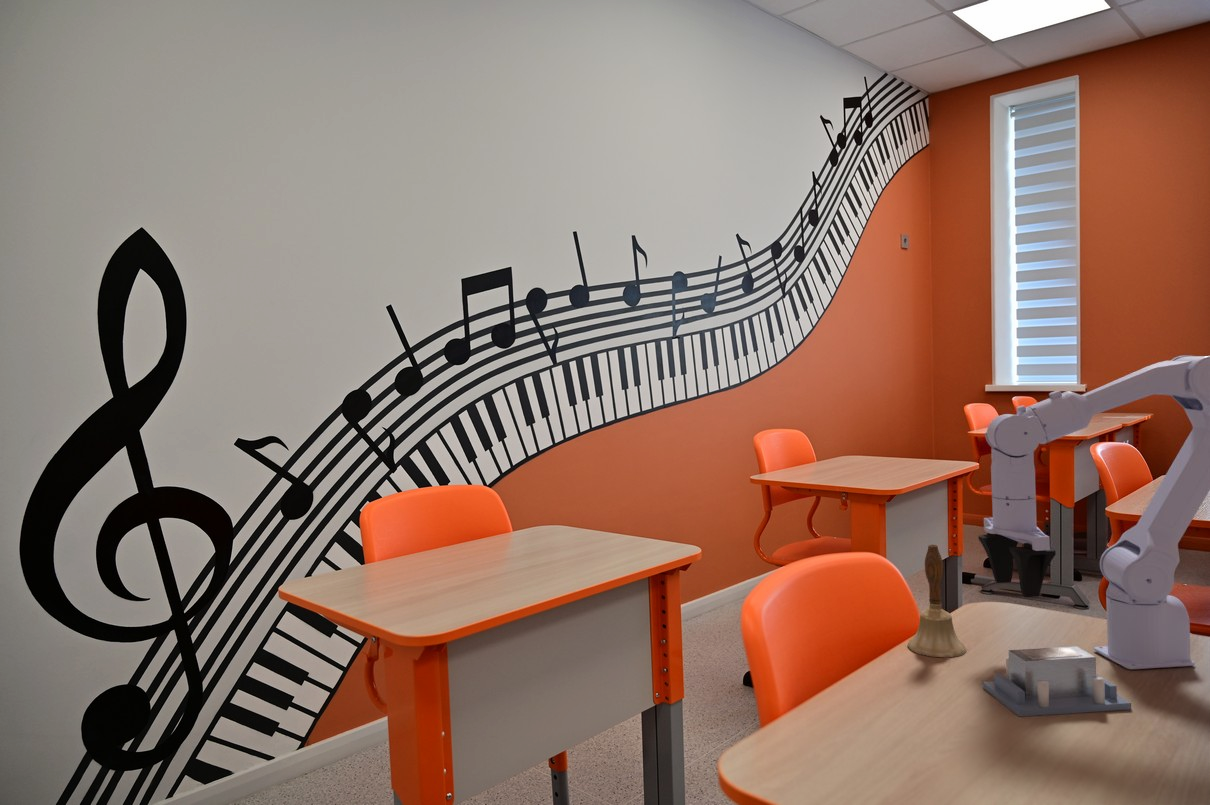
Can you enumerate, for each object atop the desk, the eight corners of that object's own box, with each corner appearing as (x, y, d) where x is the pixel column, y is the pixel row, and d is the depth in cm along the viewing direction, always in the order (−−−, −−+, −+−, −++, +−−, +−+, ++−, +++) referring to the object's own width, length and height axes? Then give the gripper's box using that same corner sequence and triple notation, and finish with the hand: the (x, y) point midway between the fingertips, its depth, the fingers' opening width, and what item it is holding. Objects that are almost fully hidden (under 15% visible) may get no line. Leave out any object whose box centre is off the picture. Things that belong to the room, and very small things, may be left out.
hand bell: (975, 656, 120) (972, 549, 119) (919, 659, 120) (915, 552, 119) (953, 638, 128) (949, 537, 127) (900, 640, 128) (896, 540, 128)
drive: (1077, 683, 106) (1076, 645, 106) (1096, 696, 102) (1095, 656, 102) (1009, 687, 106) (1008, 649, 106) (1026, 700, 102) (1024, 660, 102)
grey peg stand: (1086, 681, 109) (1085, 653, 109) (1131, 709, 100) (1130, 679, 100) (983, 687, 109) (982, 659, 108) (1019, 716, 100) (1018, 686, 99)
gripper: (963, 490, 125) (966, 577, 126) (1012, 506, 111) (1015, 604, 112) (1008, 488, 126) (1011, 575, 126) (1063, 503, 111) (1066, 601, 112)
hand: (1016, 588), depth 119 cm, fingers open, 7 cm apart
